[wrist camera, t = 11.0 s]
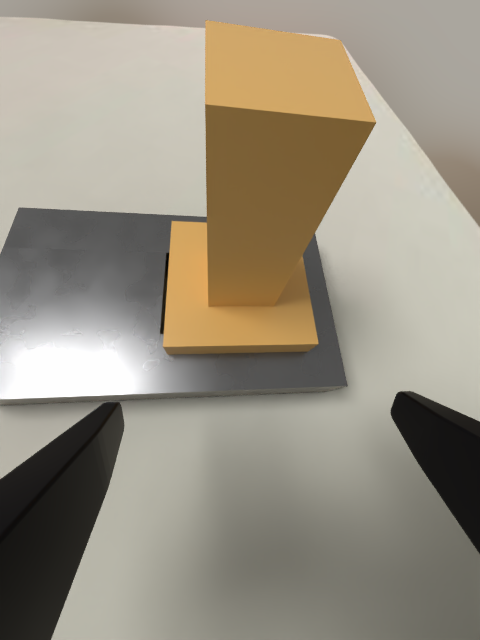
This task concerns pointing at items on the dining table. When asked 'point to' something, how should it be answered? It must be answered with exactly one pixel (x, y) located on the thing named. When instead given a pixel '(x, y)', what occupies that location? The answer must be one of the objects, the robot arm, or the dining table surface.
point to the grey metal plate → (126, 318)
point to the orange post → (262, 190)
